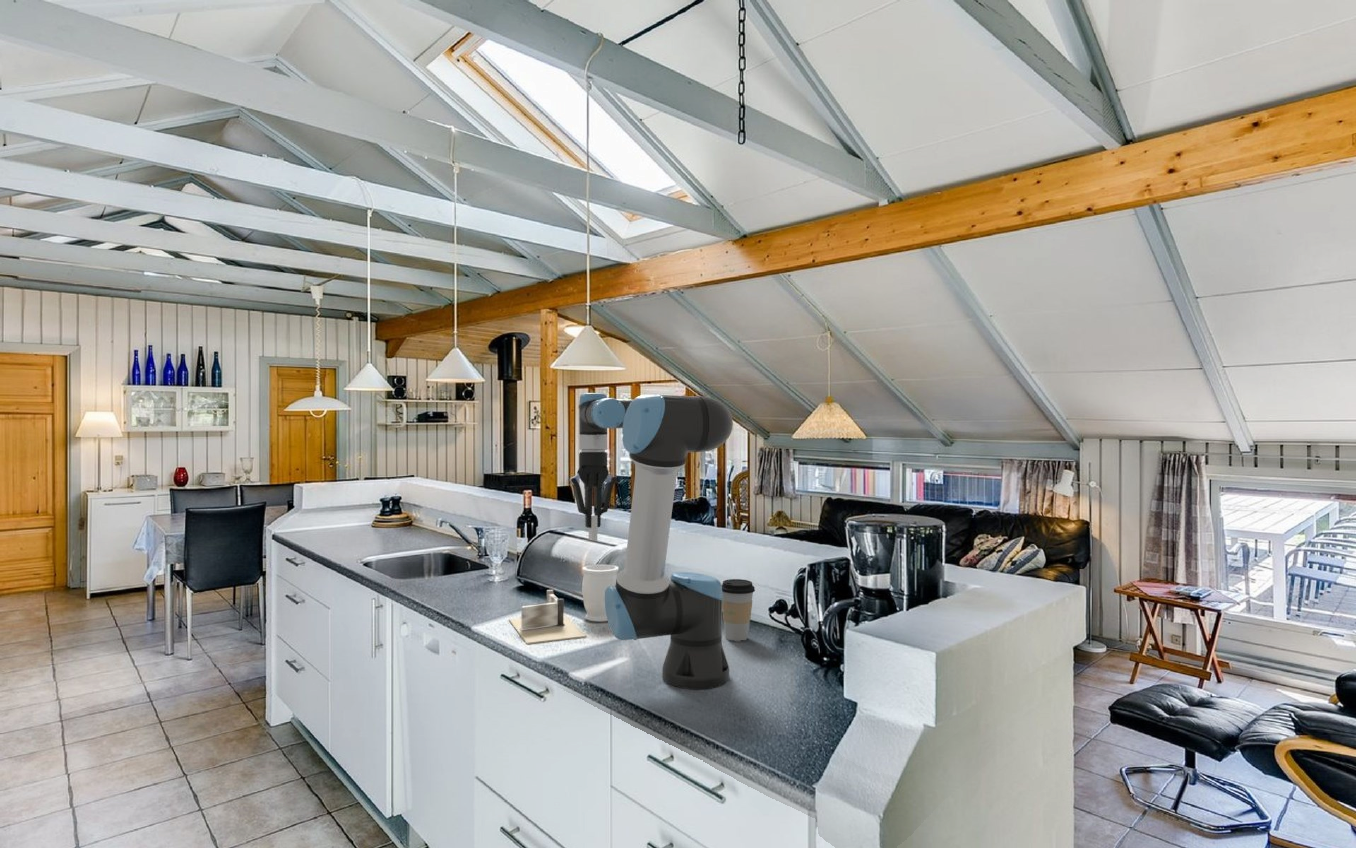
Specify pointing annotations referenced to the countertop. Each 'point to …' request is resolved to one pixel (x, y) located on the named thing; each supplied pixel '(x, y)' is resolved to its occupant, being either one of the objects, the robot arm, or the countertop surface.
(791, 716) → the countertop surface
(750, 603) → the coffee cup
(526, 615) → the fence flap
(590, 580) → the jar
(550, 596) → the fence fixed
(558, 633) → the card
